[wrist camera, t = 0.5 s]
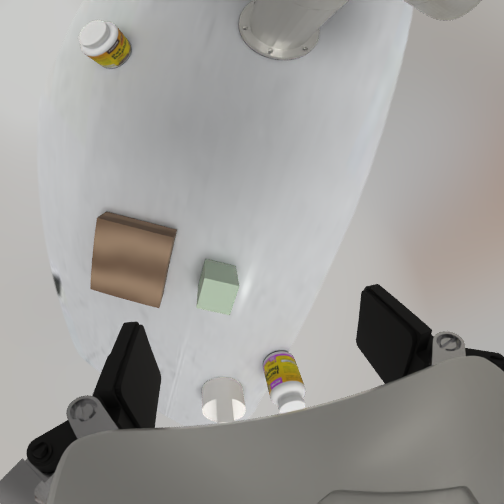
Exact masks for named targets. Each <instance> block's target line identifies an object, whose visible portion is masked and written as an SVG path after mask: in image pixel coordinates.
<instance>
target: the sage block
mask: <svg viewBox="0 0 504 504" xmlns="http://www.w3.org/2000/svg"><path fill="white" fill-rule="evenodd" d="M238 289H239V282H238V276H237V271H236V266H233V265H229V264H225V263H221V262H217V261H213V260H209V259H205V262H204V266H203V270H202V274H201V277H200V281H199V285H198V295H197V308H199V309H203V310H208V311H213V312H217V313H222V314H227V315H230V313H231V310H232V307H233V304H234V301H235V298H236V295H237V292H238Z"/></svg>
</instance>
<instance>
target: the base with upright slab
mask: <svg viewBox="0 0 504 504" xmlns="http://www.w3.org/2000/svg"><path fill="white" fill-rule="evenodd" d="M202 412H203V415H204V416H205V417H206V418H208V419H209V420H212V421H215V422H217V424H218V423H227V422H234V421H235V420H237V419H239V418H241V417H242V416H243V415H244V414H245V412H246V407H245V401H244V394H243V388H242V385H241V384H240V383H239V382H238V381H237V380H235V379H232V378H228V377H218V378H213V379H211V380H209V381H207V382H206V383H205V384H204V385H203V387H202Z"/></svg>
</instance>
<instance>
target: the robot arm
mask: <svg viewBox="0 0 504 504" xmlns="http://www.w3.org/2000/svg"><path fill="white" fill-rule="evenodd" d="M348 1H349V0H254V1H252V2H250V3H249V4H248V5H247V6H246V7H245V8H244V9H243V11H242V12H241V15H240V18H239V31H240V34H241V36H242V38H243V40H244V41H245V42H246V43H247V45H248V46H249V47H250V48H252V49H253V50H254V51H256V52H257V53H259V54H261V55H263V56H266V57H268V58H272V59H277V60H292V59H296V58H300V57H302V56H304V55H306V54H307V53H309V52H310V51H311V50H312V49H313V48H314V47H315V45H316V44H317V42H318V39H319V34H320V30H319V28H320V27H321V26H322V25H323V24H324V23H325V22H326V21H327V20H328V19H329V18H330V17H332V16H333V15H334V14H335V13H336V12H337V11H338V10H339V9H340V8H341V7H342V6H343V5H344V4H346V3H347V2H348ZM404 1H405V2H407V3H408V4H410V5H411V6H413V7H414V8H416V9H417V10H419V11H420V12H422V13H424V14H426V15H427V16H430V17H431V18H434V19H437V20H443V21H448V20H454V19H457V18H460V17H462V16H463V15H465V14H467V13H468V12H470V11H471V10H472V9H473V8H475V7H476V6H477V5H478V4H479V3H480V2H481V1H482V0H404ZM243 29H246V30H243ZM303 49H304V50H305V51H304V50H303ZM268 52H270V53H271V54H269V53H268ZM431 332H432V330H431V329H430V328H429V327H428V326H427V325H426V324H425V323H424V322H422V321H421V320H420V319H419V318H418V317H417V316H416V315H414V314H413V313H412V312H411V311H410V310H409V309H407V308H406V307H405V306H404V305H403V304H402V303H400V302H399V301H398V300H397V299H395V298H394V297H393V296H392V295H391V294H390V293H388V292H387V291H386V290H385V289H384V288H382V287H381V286H380V285H378V284H376V285H371V286H366V287H365V289H364V290H363V291H362V293H361V302H360V312H359V322H358V330H357V338H356V343H357V346H358V348H359V349H360V350H361V352H362V353H363V354H364V356H365V357H366V358H367V360H368V361H369V362H370V364H371V365H372V366H373V368H374V369H375V371H376V372H377V373H378V375H379V376H380V378H381V379H382V380H383V382H384V383H385V384H384V385H381V386H378V387H375V388H373V389H370V390H367V391H364V392H361V393H358V394H355V395H352V396H349V397H345V398H342V399H338V400H335V401H331V402H328V403H324V404H320V405H317V406H313V407H308V408H304V409H300V410H295V411H291V412H286V413H282V414H277V415H271V416H266V417H260V418H255V419H248V420H241V421H234V422H227V423H218V424H208V425H197V426H183V427H165V428H155V420H156V412H157V405H158V398H159V391H160V384H161V374H160V371H159V368H158V366H157V363H156V360H155V358H154V355H153V352H152V350H151V347H150V344H149V341H148V338H147V335H146V332H145V329H144V327H143V325H139V323H138V322H127V323H124V324H123V326H122V328H121V330H120V333H119V335H118V337H117V340H116V342H115V344H114V347H113V349H112V351H111V354H110V355H109V356H108V358H107V360H106V362H105V365H104V367H103V370H102V372H101V375H100V377H99V380H98V383H97V385H96V388H95V390H94V393H93V396H88V395H87V396H81V397H79V398H76V399H75V400H74V401H72V402H71V403H70V404H69V406H68V408H67V413H66V414H67V418H68V420H67V421H65V422H64V423H62V424H60V425H59V426H57V427H55V428H53V429H52V430H50V431H48V432H46V433H45V434H43V435H41V436H39V437H38V438H36V439H35V440H33V441H32V442H31V443H30V444H29V446H28V449H27V458H28V459H27V460H26V461H25V460H24V459H21V460H20V461H19V462H18V463H17V465H16V466H15V467H13V468H12V469H11V471H9V473H8V474H6V475H5V476H4V478H3V479H2V480H1V481H0V503H1V504H504V357H503V356H502V355H501V354H499V353H495V352H488V351H481V350H475V349H468V348H465V344H464V341H463V339H462V338H461V337H460V336H458V335H457V334H455V333H452V332H440V333H438V334H436V335H435V336H434V337H433V336H432V335H431Z"/></svg>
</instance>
